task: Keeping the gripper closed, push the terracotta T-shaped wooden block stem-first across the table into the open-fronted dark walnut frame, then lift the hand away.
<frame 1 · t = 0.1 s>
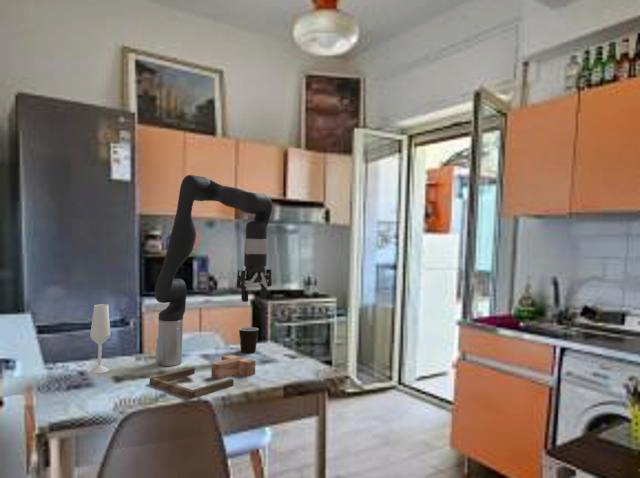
hand: (254, 300, 156), 29 cm above the table, tool pointing down, fingers open, 8 cm apart
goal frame: (193, 384, 157), on the table
champagne flute: (99, 371, 170), on the table
t block: (228, 374, 170), on the table
coffee mug: (249, 351, 206), on the table
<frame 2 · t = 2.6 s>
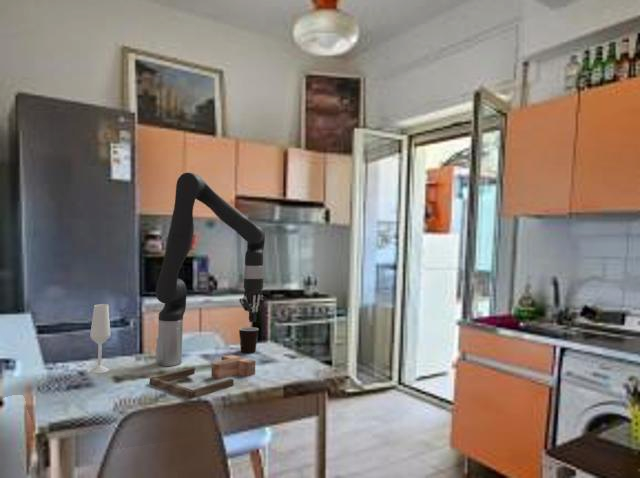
hand: (252, 321, 179), 18 cm above the table, tool pointing down, fingers closed
nothing on the table moved.
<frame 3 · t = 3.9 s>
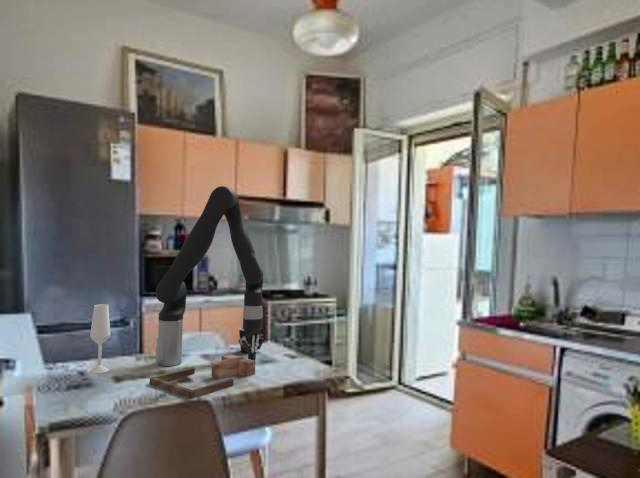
hand: (251, 361, 179), 2 cm above the table, tool pointing down, fingers closed
nothing on the table moved.
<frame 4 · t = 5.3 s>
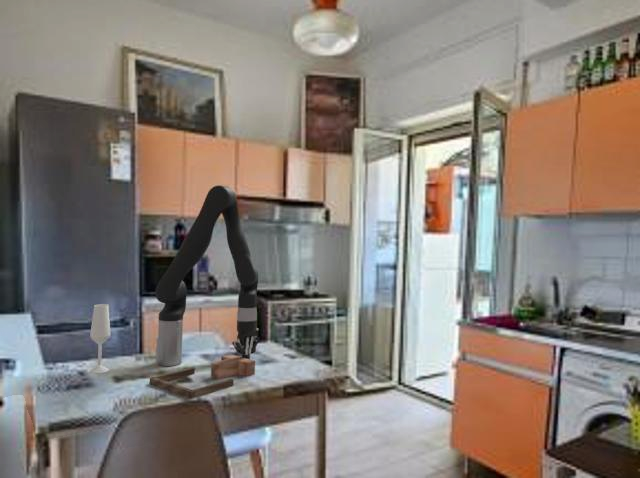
hand: (245, 364, 177), 2 cm above the table, tool pointing down, fingers closed
t block: (228, 374, 170), on the table, touching gripper
everything else where it was.
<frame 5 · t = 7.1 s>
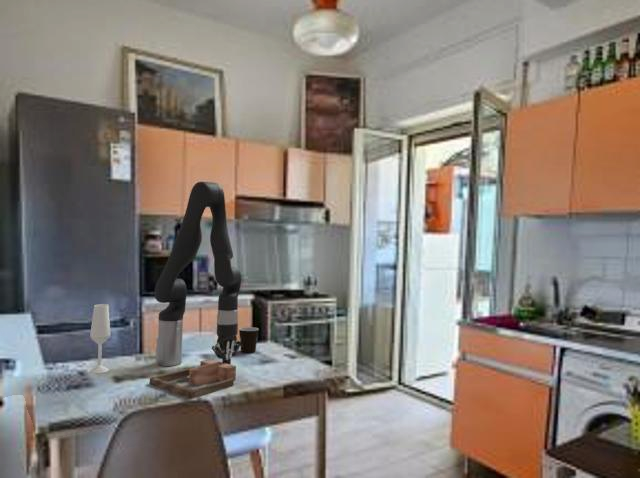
hand: (226, 369, 169), 2 cm above the table, tool pointing down, fingers closed
t block: (207, 380, 162), on the table, touching gripper
everything else where it was.
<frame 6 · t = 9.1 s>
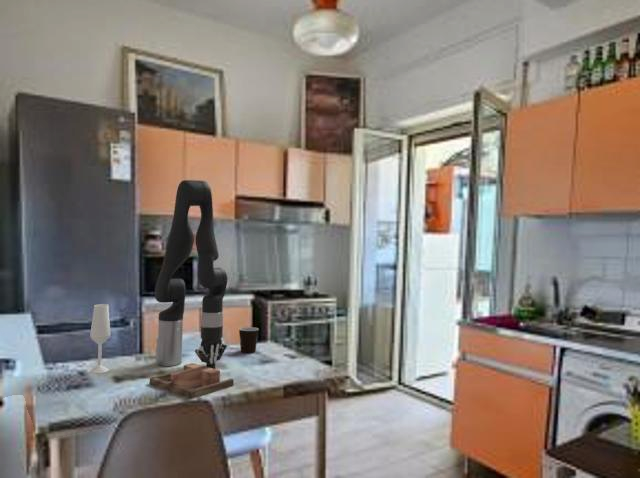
hand: (210, 373, 163), 2 cm above the table, tool pointing down, fingers closed
t block: (190, 385, 156), on the table, touching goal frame, gripper
everything else where it was.
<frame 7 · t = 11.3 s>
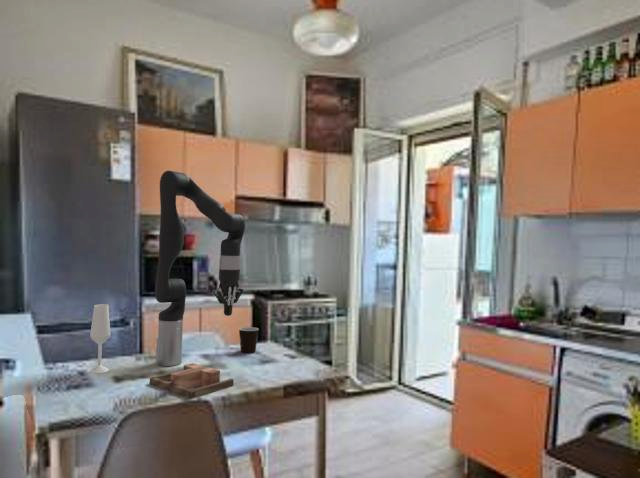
hand: (227, 315, 169), 22 cm above the table, tool pointing down, fingers closed
t block: (190, 385, 156), on the table
everything else where it was.
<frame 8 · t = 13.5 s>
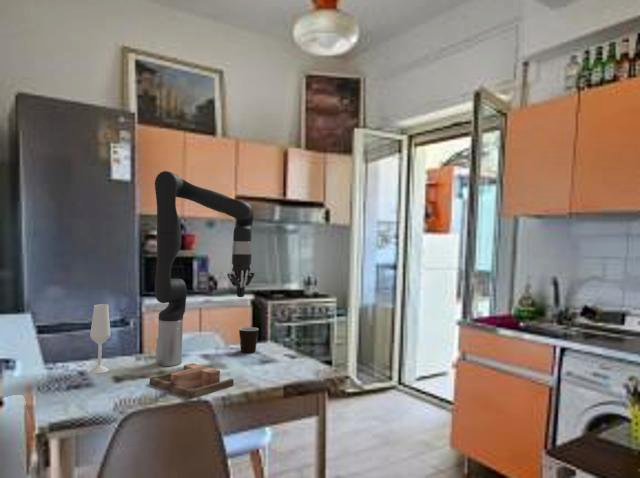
hand: (240, 296, 182), 27 cm above the table, tool pointing down, fingers closed
nothing on the table moved.
at the end: t block inside the target area on the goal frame (1.6 cm from its centre), point 0.0 cm above the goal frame's base; t block tilted 0° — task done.
